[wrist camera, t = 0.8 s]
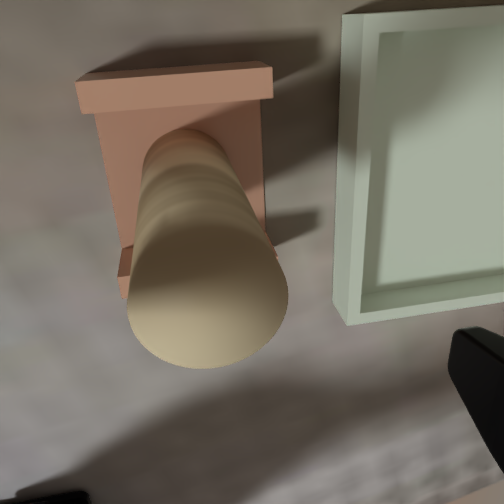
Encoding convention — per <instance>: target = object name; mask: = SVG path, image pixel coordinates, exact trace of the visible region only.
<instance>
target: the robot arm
mask: <svg viewBox="0 0 504 504" xmlns="http://www.w3.org/2000/svg"><path fill="white" fill-rule="evenodd" d="M448 371H449V375H450V377H451V380H452V381H453V383H454V385H455V387H456V389H457V391H458V393H459V395H460V397H461V399H462V400H463V402H464V404H465V406H466V408H467V410H468V412H469V414H470V416H471V418H472V419H473V421H474V423H475V425H476V427H477V429H478V431H479V433H480V435H481V437H482V438H483V440H484V442H485V444H486V446H487V447H488V449H489V451H490V453H491V454H492V456H493V458H494V459H495V461H496V462H497V464H498V466H499V467H500V469H501V470H502V472H503V473H504V337H503V336H500V335H498V334H496V333H493V332H491V331H489V330H486V329H484V328H482V327H478V326H473V327H467V328H461V329H458V330H456V331H455V332H454V334H453V337H452V342H451V348H450V354H449V359H448ZM14 504H92V503H91V500H90V497H89V495H88V493H86V492H83V491H78V492H72V493H67V494H62V495H56V496H51V497H46V498H41V499H35V500H30V501H25V502H19V503H14Z"/></svg>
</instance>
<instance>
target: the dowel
mask: <svg viewBox="0 0 504 504" xmlns="http://www.w3.org/2000/svg"><path fill="white" fill-rule="evenodd" d="M287 305H288V286H287V282H286V278H285V276H284V273H283V271H282V269H281V267H280V265H279V262H278V260H277V258H276V256H275V254H274V252H273V250H272V248H271V246H270V244H269V242H268V240H267V238H266V235H265V233H264V231H263V229H262V227H261V225H260V223H259V221H258V219H257V217H256V215H255V213H254V211H253V208H252V206H251V204H250V202H249V200H248V198H247V196H246V194H245V192H244V190H243V188H242V186H241V184H240V182H239V179H238V177H237V175H236V173H235V171H234V169H233V167H232V165H231V163H230V161H229V159H228V157H227V155H226V152H225V151H224V149H223V148H222V146H221V145H220V144H219V143H218V142H217V141H216V140H215V139H214V138H212V137H211V136H209V135H208V134H206V133H204V132H201V131H198V130H193V129H179V130H174V131H171V132H168V133H166V134H164V135H163V136H161V137H159V138H158V139H157V140H156V141H155V142H154V143H153V144H152V145H151V147H150V148H149V149H148V151H147V153H146V155H145V158H144V162H143V168H142V177H141V185H140V194H139V203H138V211H137V220H136V229H135V237H134V246H133V255H132V263H131V272H130V281H129V289H128V298H127V312H128V318H129V322H130V325H131V328H132V330H133V332H134V334H135V335H136V337H137V338H138V340H139V341H140V342H141V343H142V345H143V346H144V347H145V348H146V349H147V350H149V351H150V352H151V353H152V354H154V355H155V356H157V357H159V358H160V359H162V360H164V361H166V362H169V363H171V364H174V365H177V366H182V367H186V368H195V369H209V368H218V367H222V366H227V365H230V364H233V363H236V362H238V361H241V360H243V359H245V358H247V357H249V356H251V355H252V354H254V353H255V352H257V351H258V350H259V349H261V348H262V347H263V346H264V345H265V344H266V343H268V342H269V340H270V339H271V338H272V337H273V336H274V335H275V333H276V332H277V330H278V329H279V327H280V325H281V323H282V321H283V319H284V316H285V313H286V310H287Z"/></svg>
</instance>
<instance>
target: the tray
mask: <svg viewBox="0 0 504 504" xmlns="http://www.w3.org/2000/svg"><path fill="white" fill-rule="evenodd" d="M332 302H333V304H334V305H335V307H336V309H337V310H338V312H339V314H340V315H341V317H342V319H343V320H344V322H345V323H346V325H347V326H351V325H357V324H364V323H370V322H376V321H383V320H389V319H396V318H402V317H409V316H415V315H422V314H428V313H435V312H441V311H448V310H454V309H461V308H467V307H474V306H480V305H487V304H493V303H499V302H504V5H490V6H474V7H457V8H441V9H425V10H408V11H392V12H375V13H359V14H343V15H342V40H341V68H340V97H339V126H338V154H337V183H336V211H335V240H334V269H333V297H332Z"/></svg>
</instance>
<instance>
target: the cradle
mask: <svg viewBox="0 0 504 504" xmlns="http://www.w3.org/2000/svg"><path fill="white" fill-rule="evenodd" d="M75 86H76V90H77V95H78V99H79V104H80V108H81V113H82V114H90V113H94V115H95V120H96V125H97V130H98V135H99V140H100V145H101V150H102V154H103V159H104V164H105V169H106V174H107V179H108V184H109V188H110V193H111V198H112V203H113V208H114V213H115V218H116V222H117V227H118V232H119V237H120V242H121V247H122V252H121V258H120V264H119V270H118V276H117V278H118V283H119V287H120V292H121V296H122V299H124V298H128V289H129V281H130V272H131V263H132V255H133V246H134V237H135V229H136V220H137V211H138V203H139V194H140V185H141V177H142V168H143V162H144V158H145V155H146V153H147V151H148V149H149V148H150V147H151V145H152V144H153V143H154V142H155V141H156V140H157V139H158V138H159V137H161V136H163V135H164V134H166V133H168V132H171V131H174V130H179V129H193V130H198V131H201V132H204V133H206V134H208V135H209V136H211V137H212V138H214V139H215V140H216V141H217V142H218V143H219V144H220V145H221V146H222V148H223V149H224V151H225V152H226V155H227V157H228V159H229V161H230V163H231V165H232V167H233V169H234V171H235V173H236V175H237V177H238V179H239V182H240V184H241V186H242V188H243V190H244V192H245V194H246V196H247V198H248V200H249V202H250V204H251V206H252V208H253V211H254V213H255V215H256V217H257V219H258V221H259V223H260V225H261V227H262V229H263V231H264V233H265V235H266V238H267V240H268V242H269V244H270V246H271V248H272V250H273V252H274V254H275V256H276V258H277V260H278V256H277V254H276V252H275V249H274V247H273V245H272V243H271V241H270V239H269V237H268V235H267V233H266V230H265V206H264V182H263V158H262V135H261V111H260V99H268V98H273V73H272V67H271V66H269V65H267V64H265V63H262V62H260V61H246V62H232V63H218V64H205V65H191V66H177V67H164V68H150V69H136V70H123V71H109V72H95V73H86V74H84V75H83V76H82V77H80V78H79V79H78V80H76V81H75Z"/></svg>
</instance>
